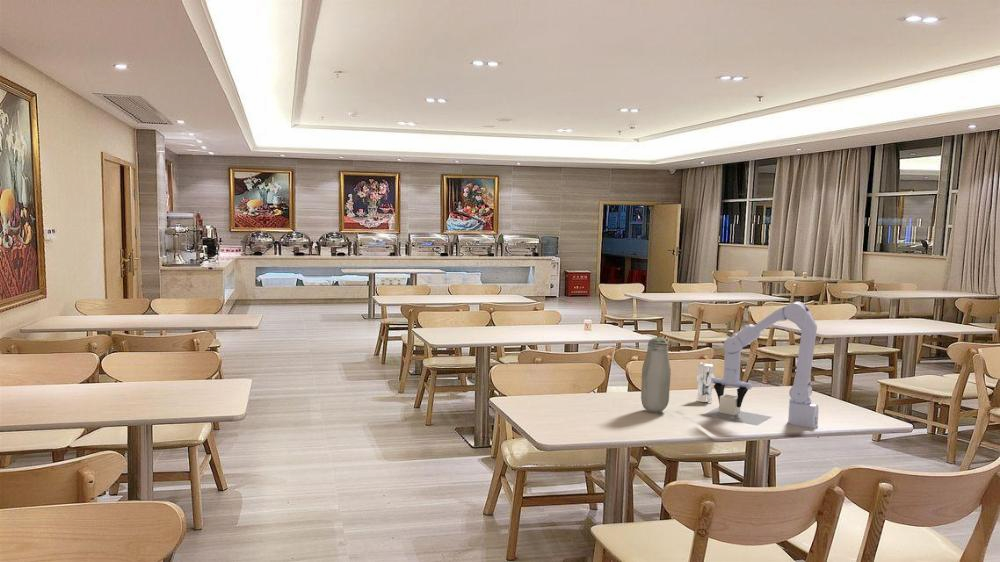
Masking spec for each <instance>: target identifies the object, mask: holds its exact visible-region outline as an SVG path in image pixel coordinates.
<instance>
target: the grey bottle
mask: <svg viewBox="0 0 1000 562" xmlns="http://www.w3.org/2000/svg"><path fill="white" fill-rule="evenodd" d="M671 371H672V370H671V363H670V357H669V343H668V341H667V340H666V339H665V338H664V337H659V336H658V337H652V338H650V339H649V341H648V342H647V350H646V354H645V358H644V361H643V364H642V368H641V388H640V389H641V391H640V399H641V404H642V407H643V409H645V411H648V412H650V413H654V412H655V413H660V412H661V413H662V412H663V411H664V410H665V409H666V408H667V407H668V404H669V401H670V390H671V389H670V388H671V386H670V385H671V378H672V377H671V375H672V374H671V373H672V372H671Z"/></svg>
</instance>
